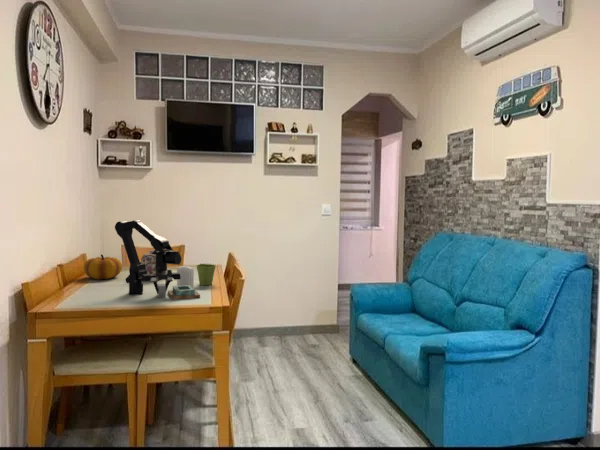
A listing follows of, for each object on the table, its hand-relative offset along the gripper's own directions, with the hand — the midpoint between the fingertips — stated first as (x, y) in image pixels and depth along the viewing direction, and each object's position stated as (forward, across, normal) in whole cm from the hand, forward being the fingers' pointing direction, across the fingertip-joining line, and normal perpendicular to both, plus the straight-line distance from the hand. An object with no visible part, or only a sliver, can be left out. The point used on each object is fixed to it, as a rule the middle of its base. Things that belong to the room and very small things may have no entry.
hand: (161, 293), depth 233 cm
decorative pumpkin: (+2, -28, +64) cm, 70 cm away
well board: (+2, +11, -2) cm, 11 cm away
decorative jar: (+2, +1, +52) cm, 52 cm away
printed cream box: (+2, +15, +18) cm, 23 cm away
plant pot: (+2, +28, +24) cm, 37 cm away
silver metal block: (+2, 0, 0) cm, 2 cm away
